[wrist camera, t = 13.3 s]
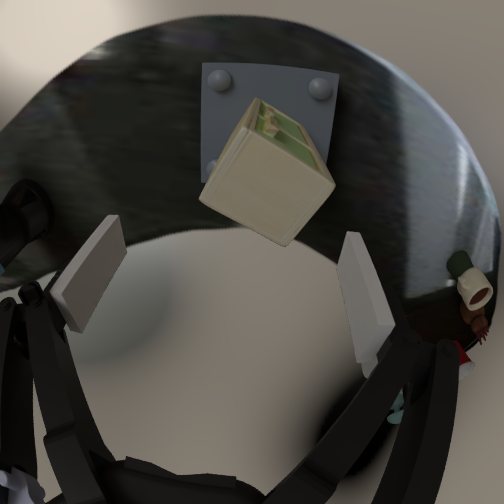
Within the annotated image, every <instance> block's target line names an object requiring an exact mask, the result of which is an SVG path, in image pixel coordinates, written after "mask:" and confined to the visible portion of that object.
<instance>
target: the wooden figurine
mask: <svg viewBox="0 0 504 504" xmlns="http://www.w3.org/2000/svg"><path fill="white" fill-rule="evenodd" d="M460 312H461V315H462V318H463V320H464V321H465V322H466V323H467V324H471V328H472V330H473V332H474V333H476V335H477V337H478V340H479V342H480V344H481V345H482V342H481V336H482V337H483V339H484V340H485V341H486V339H485V335H486V336H487V332H489V330H488V326H487V325H488V324H487V320H486V318H485V317H484V307H483V306H482V307H481V308H479V309H477V310H474V311H471V310H469V309H468V308H467V306H466V304H465V302H464V301H463V299H462V301H461V302H460ZM486 331H487V332H486ZM484 334H485V335H484Z"/></svg>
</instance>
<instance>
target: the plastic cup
mask: <svg viewBox="0 0 504 504" xmlns="http://www.w3.org/2000/svg"><path fill="white" fill-rule="evenodd" d="M453 342H454V343H455V344H456V345H457V347H458V348H459V352H460V366H459V380H461V379H463V378H465V377H466V376H467V375H468V374H470V372H471V371H472V370H473V369H474V367H475V363H474V362H472V361H471V360H470V358H469V357H468V356H467V354H466V353H465V351H464V350H463V348H462V347H461V346H460V344H459V342H458V341H456V340H454V341H453Z"/></svg>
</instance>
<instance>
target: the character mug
mask: <svg viewBox="0 0 504 504" xmlns="http://www.w3.org/2000/svg"><path fill="white" fill-rule="evenodd" d="M447 269H448V271H449V272H450V273H451V275H452V276H453V277H454V278H455V279H456V280H457V282H458V284H457V289H458V292H459V293H460V294H461V296H462V297H463V301H464V302H465V304H466V306H467V308H468V309H469V310H471V311H474V310H477V309H479V308H481V307H482V306H484V305H485V304H486V303H487V302H488V301H489V299H490V298H491V296H492V294H493V288H492V286H491V285H490V283H489V282H488V280H487V279H486V277H485V276H484V274H483V273H482V271H481V270H480V269H479V268H478V267H474V266H473V264H472V262H471V260H470V258H469V256H468V254H467V253H466V252H465V251H459V252H457V253H456V254H454V255H453V256H452V257H451V258H450V259H449V261H448V262H447Z"/></svg>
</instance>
